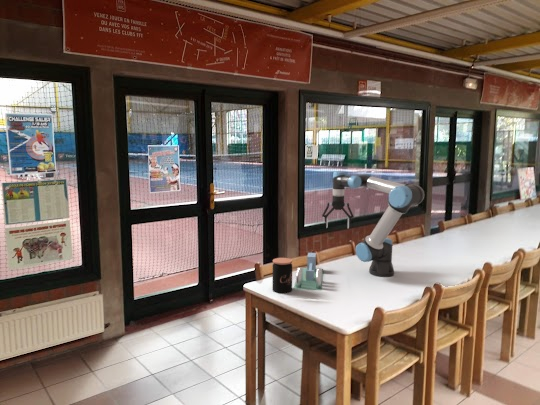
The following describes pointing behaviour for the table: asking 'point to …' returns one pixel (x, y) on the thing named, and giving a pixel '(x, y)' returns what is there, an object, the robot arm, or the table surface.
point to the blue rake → (311, 266)
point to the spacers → (300, 277)
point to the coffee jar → (282, 275)
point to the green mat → (309, 282)
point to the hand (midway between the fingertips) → (337, 227)
